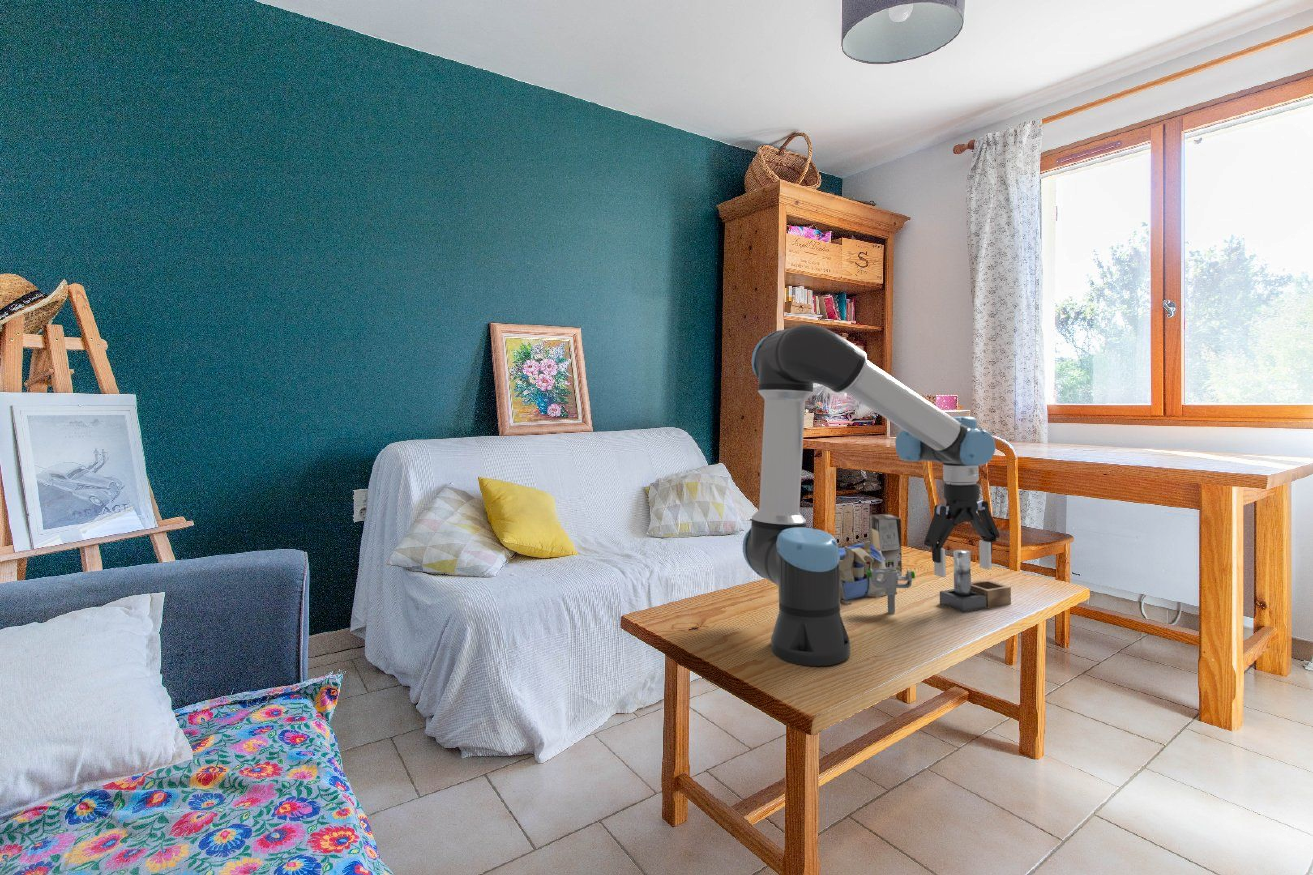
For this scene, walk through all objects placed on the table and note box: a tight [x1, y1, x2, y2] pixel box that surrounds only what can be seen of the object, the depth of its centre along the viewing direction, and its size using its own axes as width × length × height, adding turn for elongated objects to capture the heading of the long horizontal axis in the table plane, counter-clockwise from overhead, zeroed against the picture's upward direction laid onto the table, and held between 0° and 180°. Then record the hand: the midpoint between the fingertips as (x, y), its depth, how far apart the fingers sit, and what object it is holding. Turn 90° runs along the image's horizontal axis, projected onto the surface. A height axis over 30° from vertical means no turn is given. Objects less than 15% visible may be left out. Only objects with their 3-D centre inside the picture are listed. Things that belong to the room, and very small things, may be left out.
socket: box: [939, 588, 987, 613], centre depth 149 cm, size 7×7×3 cm
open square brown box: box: [971, 579, 1012, 609], centre depth 151 cm, size 7×7×4 cm
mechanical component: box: [867, 569, 916, 615], centre depth 146 cm, size 3×10×10 cm, turn 78°
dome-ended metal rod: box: [953, 549, 972, 598], centre depth 149 cm, size 4×4×13 cm
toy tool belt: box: [838, 528, 887, 608], centre depth 160 cm, size 26×16×16 cm, turn 122°
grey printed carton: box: [869, 513, 903, 576], centre depth 180 cm, size 9×6×16 cm
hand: (963, 572), depth 149 cm, fingers open, 13 cm apart
